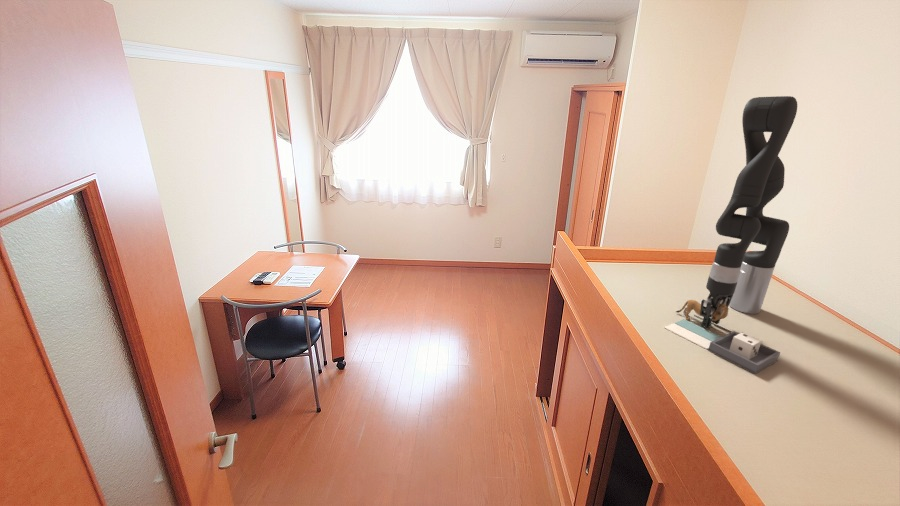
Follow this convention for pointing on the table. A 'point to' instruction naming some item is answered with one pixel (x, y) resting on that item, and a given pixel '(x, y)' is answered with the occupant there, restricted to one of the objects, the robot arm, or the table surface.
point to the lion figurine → (696, 307)
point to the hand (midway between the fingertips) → (710, 324)
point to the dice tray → (753, 365)
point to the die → (745, 345)
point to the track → (694, 332)
